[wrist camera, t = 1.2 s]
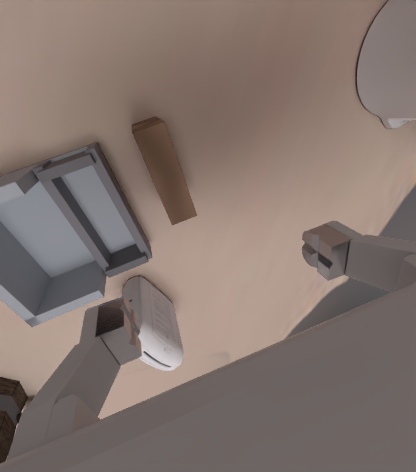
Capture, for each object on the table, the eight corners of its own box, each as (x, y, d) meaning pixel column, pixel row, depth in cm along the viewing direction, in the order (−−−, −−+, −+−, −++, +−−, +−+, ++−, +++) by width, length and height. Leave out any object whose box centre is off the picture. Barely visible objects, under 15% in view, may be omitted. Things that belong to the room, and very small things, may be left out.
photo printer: (117, 285, 38) (113, 355, 28) (139, 270, 38) (143, 335, 27) (157, 317, 44) (166, 384, 33) (176, 303, 43) (191, 367, 33)
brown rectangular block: (156, 116, 28) (165, 121, 22) (183, 191, 34) (197, 215, 27) (131, 124, 28) (132, 133, 21) (163, 199, 33) (172, 225, 27)
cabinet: (97, 141, 28) (88, 155, 21) (149, 242, 36) (155, 275, 29) (-36, 189, 26) (-91, 219, 20) (50, 282, 34) (31, 327, 28)
